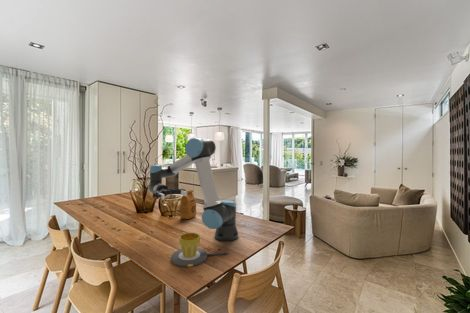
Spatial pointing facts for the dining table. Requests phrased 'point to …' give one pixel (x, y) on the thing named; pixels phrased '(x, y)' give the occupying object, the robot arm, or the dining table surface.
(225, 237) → the robot arm
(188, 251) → the plant pot
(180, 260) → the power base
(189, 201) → the coffee package
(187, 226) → the dining table surface
